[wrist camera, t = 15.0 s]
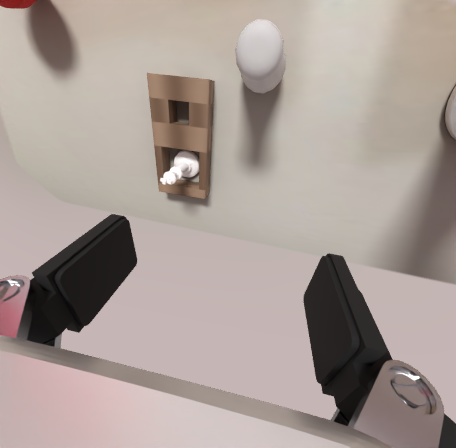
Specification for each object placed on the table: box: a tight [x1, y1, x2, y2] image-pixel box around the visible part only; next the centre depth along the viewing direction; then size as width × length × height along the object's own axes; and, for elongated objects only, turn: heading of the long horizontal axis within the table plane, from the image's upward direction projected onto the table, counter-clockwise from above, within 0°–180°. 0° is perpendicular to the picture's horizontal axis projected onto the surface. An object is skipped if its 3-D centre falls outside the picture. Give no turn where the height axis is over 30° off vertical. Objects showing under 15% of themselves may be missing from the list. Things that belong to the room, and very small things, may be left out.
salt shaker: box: [235, 19, 286, 93], centre depth 23 cm, size 6×6×13 cm
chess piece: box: [160, 150, 199, 185], centre depth 33 cm, size 5×5×10 cm
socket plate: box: [147, 73, 214, 199], centre depth 34 cm, size 9×18×3 cm, turn 175°
